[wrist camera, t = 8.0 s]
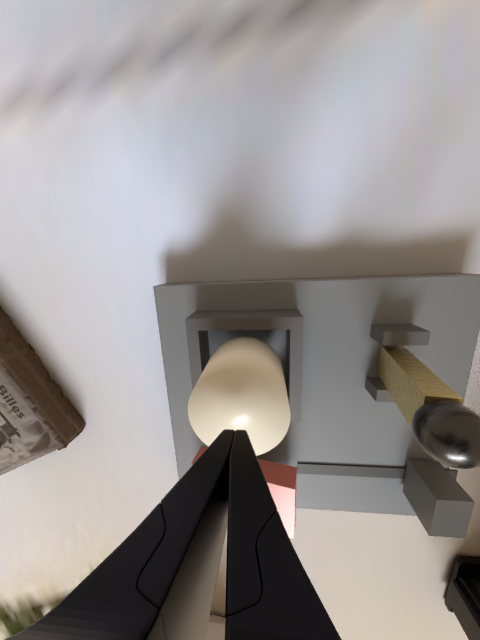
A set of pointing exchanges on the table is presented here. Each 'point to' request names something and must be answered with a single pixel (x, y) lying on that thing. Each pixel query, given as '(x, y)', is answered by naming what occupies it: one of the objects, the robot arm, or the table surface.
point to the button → (241, 394)
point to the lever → (431, 409)
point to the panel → (327, 370)
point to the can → (215, 628)
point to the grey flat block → (30, 404)
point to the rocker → (278, 489)
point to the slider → (437, 499)
